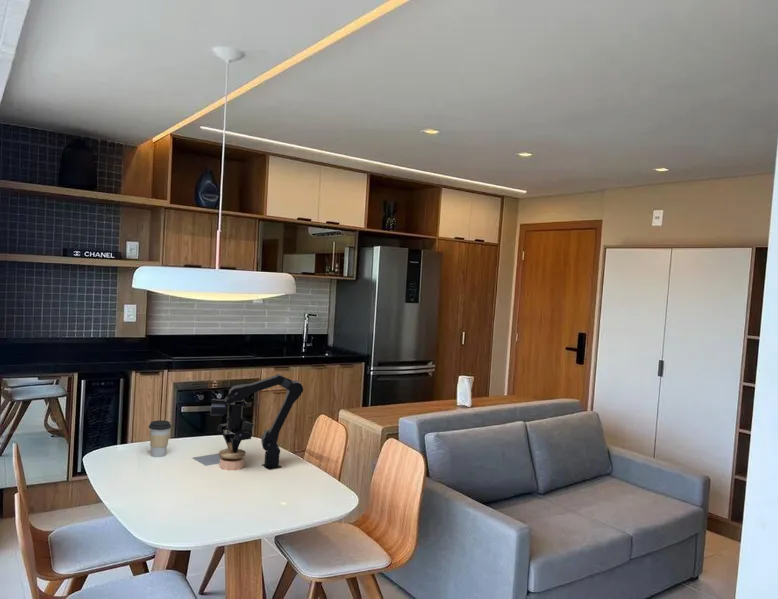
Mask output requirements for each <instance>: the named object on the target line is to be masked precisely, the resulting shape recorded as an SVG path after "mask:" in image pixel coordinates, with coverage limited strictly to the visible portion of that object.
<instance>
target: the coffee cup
mask: <svg viewBox="0 0 778 599" xmlns="http://www.w3.org/2000/svg"><path fill="white" fill-rule="evenodd" d="M148 428H149V430H150V431H149V432H150V433H149V441H150V442H149V443H150V444H149V445H150V455H151V456H150V457H152V458H163V457H165V456H166V453H167V449H168V448H167V446H168V444H169V439H170V431H171V428H172V424H171V423H170V421H168V420H160V419H159V420H154V421H151V422H150V423H149V425H148Z"/></svg>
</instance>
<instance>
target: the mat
mask: <svg viewBox="0 0 778 599" xmlns="http://www.w3.org/2000/svg"><path fill="white" fill-rule="evenodd" d="M192 459H193V460H195V461H197V462H198V463H200V464H202V465H203V466H205V467H207V466H212V465H217V464H219V465H220V456H219V453H212V454H207V455H205V454H204V455H201V456H193V457H192Z"/></svg>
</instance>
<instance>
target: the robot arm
mask: <svg viewBox="0 0 778 599" xmlns="http://www.w3.org/2000/svg"><path fill="white" fill-rule="evenodd" d="M276 386H281V387H282V388H284V389H286V393H285V398H284V400H283V402H282V405H281V406H280V408H279V409H278V410H279V411H278V412H277V415H276V416H275V418H274V421H273V423H272V425H271V427H269V429H268V430H267V429H264V430H263V434H262V435H261V437H260V438H261V445H262V449H263V450H264V451H265V452H264V463H263V464H261V466H262V467H264V468H265V469H268V470H274V469H279V468H282V465H281V464H280V455H281V449H280V446H279V444H278V440H279V435H280V431H281V429H282V427H283V425H284V423H285V422H286V419H287V418H288V415H289V413H290V411H291V409H292V407H293V405H294V403H295V402H296V401H297V400H298V399H299V398H300V396H301V395H302V394H303V392H304V387H303V384H302V383H301V382H300V381H298V380H295V379H294V380H292V379H289V378H287V377H285V376H284V375H281V374H280V373H279V374H275V375H273V376H269V377H266V378H263V379H259V380H256V381H255V382H251V383H244V384H243V383H242V384H236V385H233V386H231V387H230V389H229V393H228V394H227V395H226V397H224V399H216V398H212V399H211V405H210V416H225V415H226V414H227V415H228V416H226V418H225V420H226V421H227V422H226V423H220V424H218V425H217V428H216V432H219V433H221V435H222V437H223V438H224V441H225V444H226V445H227V447H228V442H231V443H232V448H233V452H234V453H236V452H237V449H239V448H240V447H239V446H240V444H241V442H242V441H246V440H251V439H252V433H251V432H252V430H253V428H254V425H255V424H254V423H252V422H248V421H247V418H244V417H243V406H245V407H247V406H248V402H246V401H245V398H247V397H249V396H250V395H252V394H255V393H256V392H259V391H263V390H266V389H269V388H272V387H276ZM222 432H223V433H222Z"/></svg>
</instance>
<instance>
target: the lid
mask: <svg viewBox="0 0 778 599" xmlns="http://www.w3.org/2000/svg"><path fill="white" fill-rule="evenodd" d="M218 454H219V456H220V457H222V458H226V459H238V458H242V457H244V458H245V457H246V451H245V450H244V449H241V448H238V449H237V452H236V453H234V452H233V448H232V443H231V442H228V446H227V448H225V449H221V450H220V451H219V453H218Z"/></svg>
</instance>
